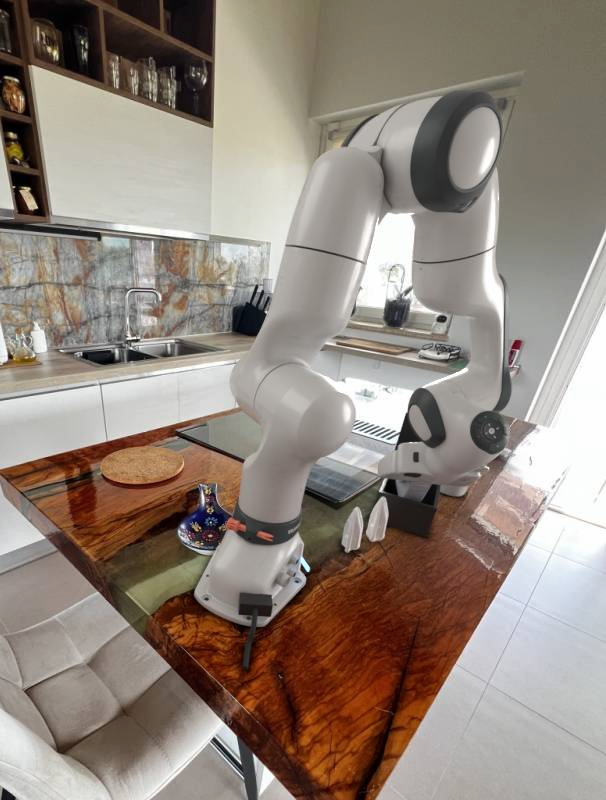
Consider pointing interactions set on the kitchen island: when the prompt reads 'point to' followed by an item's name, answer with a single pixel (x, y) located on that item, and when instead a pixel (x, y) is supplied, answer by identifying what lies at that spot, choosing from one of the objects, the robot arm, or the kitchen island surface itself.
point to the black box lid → (406, 434)
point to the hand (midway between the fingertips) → (412, 481)
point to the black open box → (409, 508)
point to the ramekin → (453, 490)
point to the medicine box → (413, 490)
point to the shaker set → (374, 526)
